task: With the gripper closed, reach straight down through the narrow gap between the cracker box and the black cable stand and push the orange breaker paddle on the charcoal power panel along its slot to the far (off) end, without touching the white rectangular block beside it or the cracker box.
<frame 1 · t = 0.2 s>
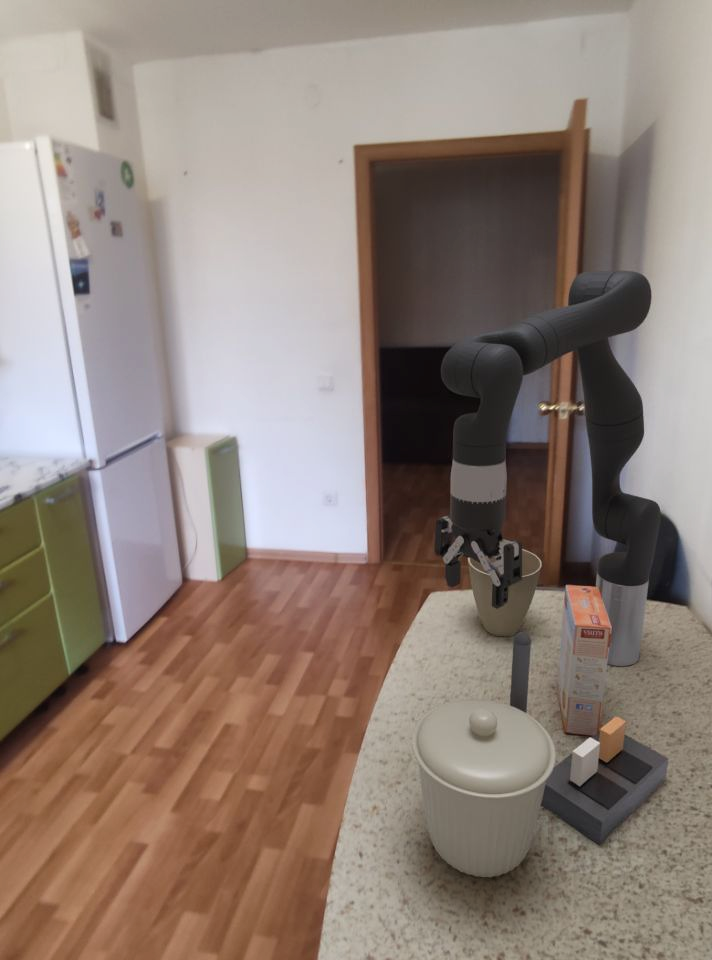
hand: (475, 595, 95), 29 cm above the table, tool pointing down, fingers open, 8 cm apart
canister: (478, 843, 90), on the table
plant pot: (501, 628, 141), on the table
breaker paddle: (611, 739, 98), point 7 cm above the table, slide at 0.0 cm
cracker box: (577, 710, 115), on the table
white rectangular block: (585, 761, 94), point 7 cm above the table, slide at 0.0 cm
cable stand: (513, 779, 100), on the table
power panel: (602, 790, 97), on the table
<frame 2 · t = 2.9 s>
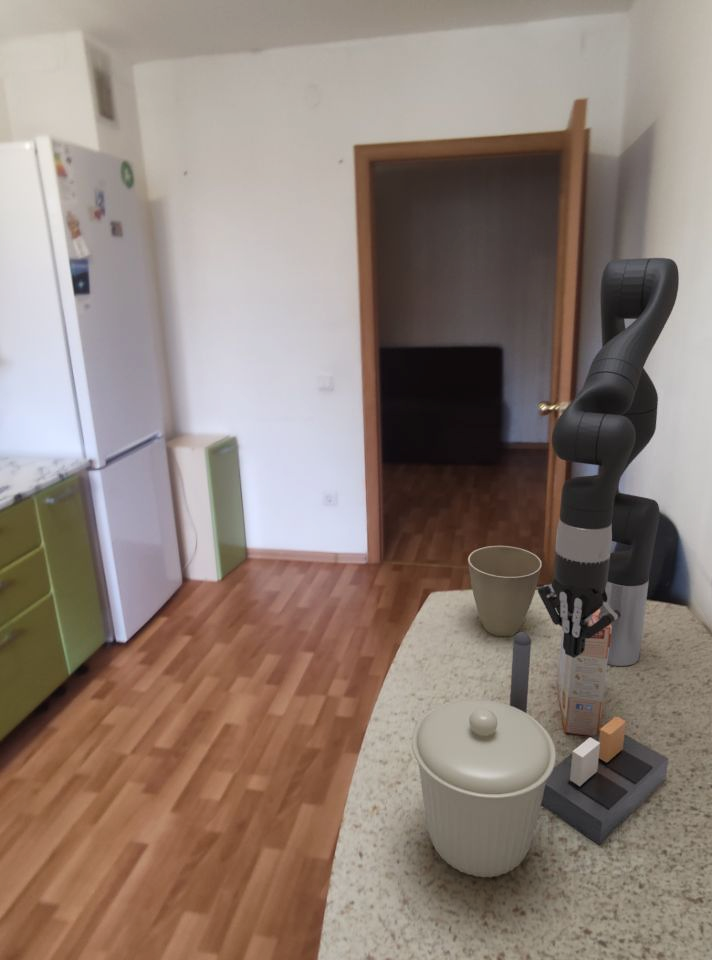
hand: (572, 654, 100), 18 cm above the table, tool pointing down, fingers closed
nothing on the table moved.
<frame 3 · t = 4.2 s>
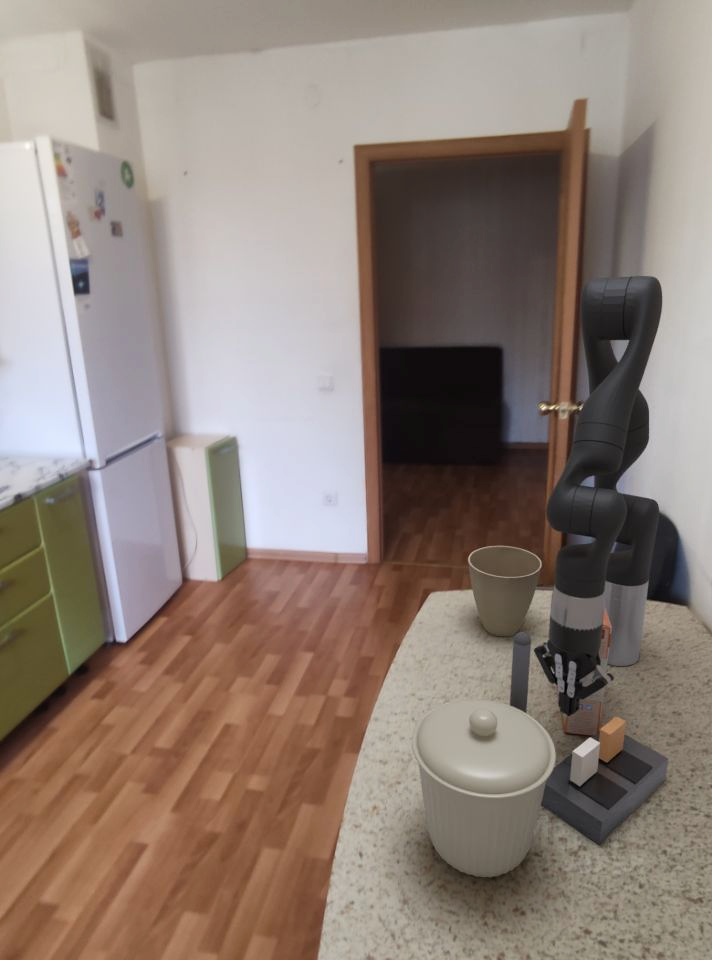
hand: (567, 711, 103), 8 cm above the table, tool pointing down, fingers closed
nothing on the table moved.
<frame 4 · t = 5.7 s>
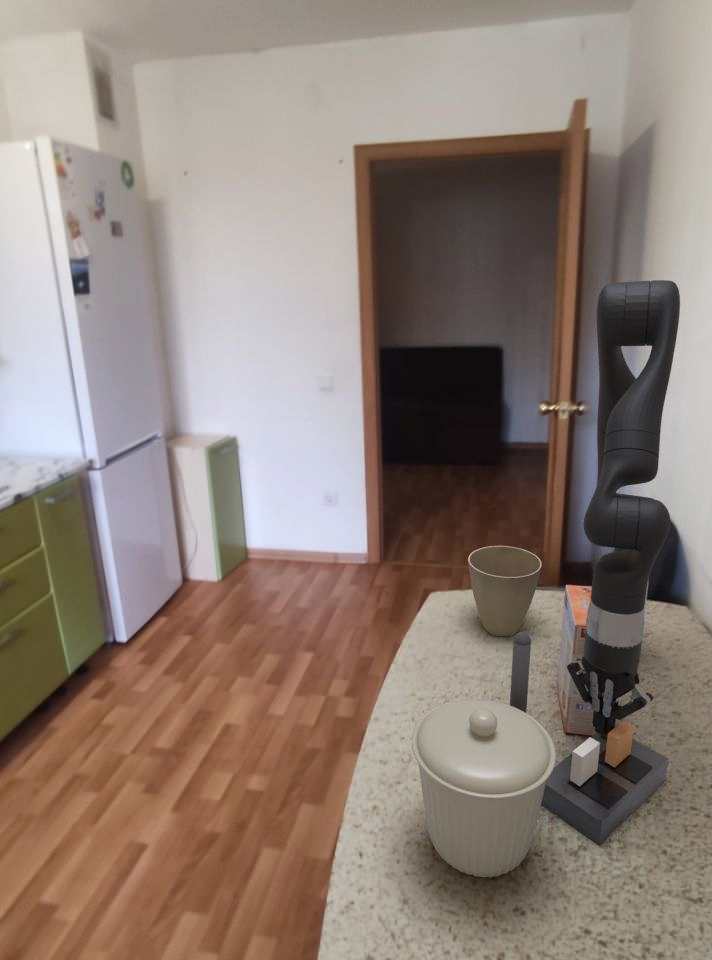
hand: (602, 731, 99), 8 cm above the table, tool pointing down, fingers closed
breaker paddle: (619, 743, 97), point 7 cm above the table, slide at 1.3 cm, touching gripper
everything else where it was.
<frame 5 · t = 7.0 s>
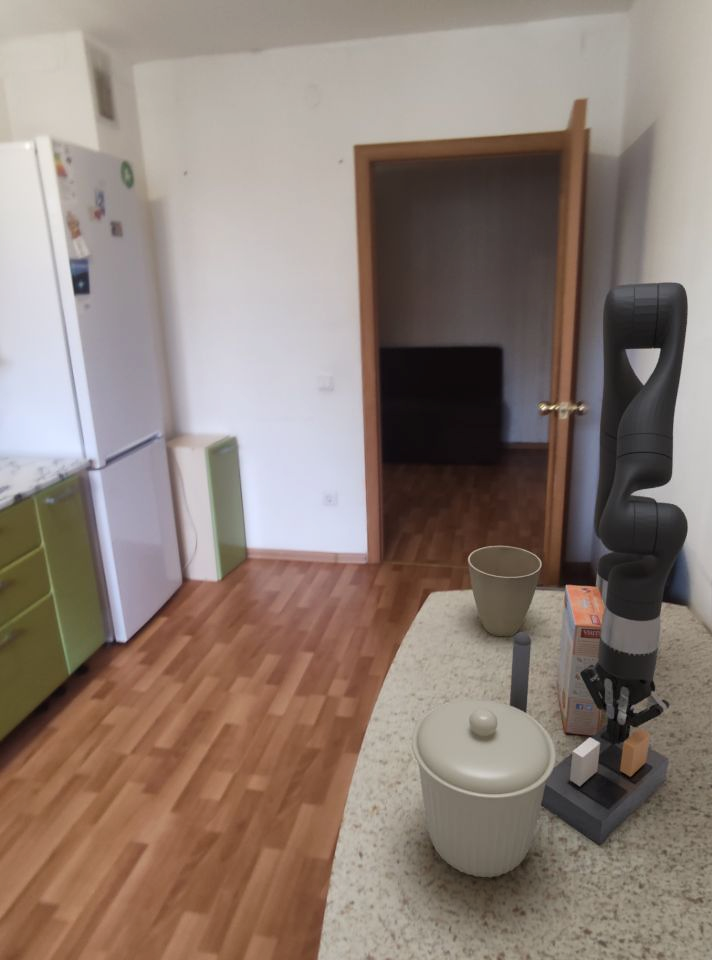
hand: (617, 739, 97), 7 cm above the table, tool pointing down, fingers closed
breaker paddle: (635, 752, 95), point 7 cm above the table, slide at 3.7 cm
everything else where it was.
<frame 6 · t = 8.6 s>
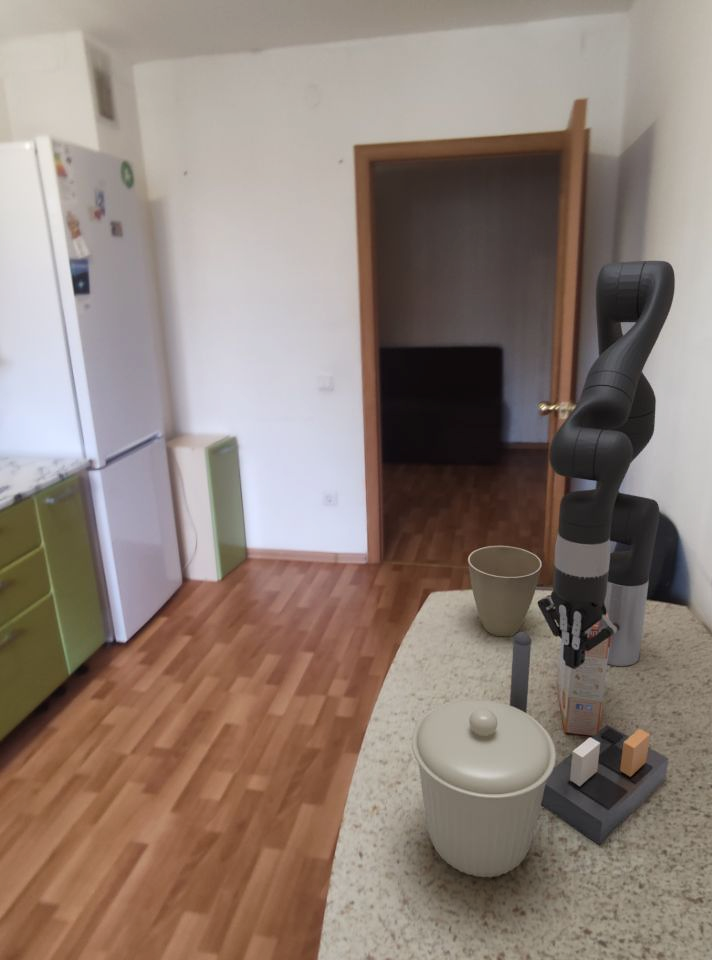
hand: (572, 665, 101), 16 cm above the table, tool pointing down, fingers closed
nothing on the table moved.
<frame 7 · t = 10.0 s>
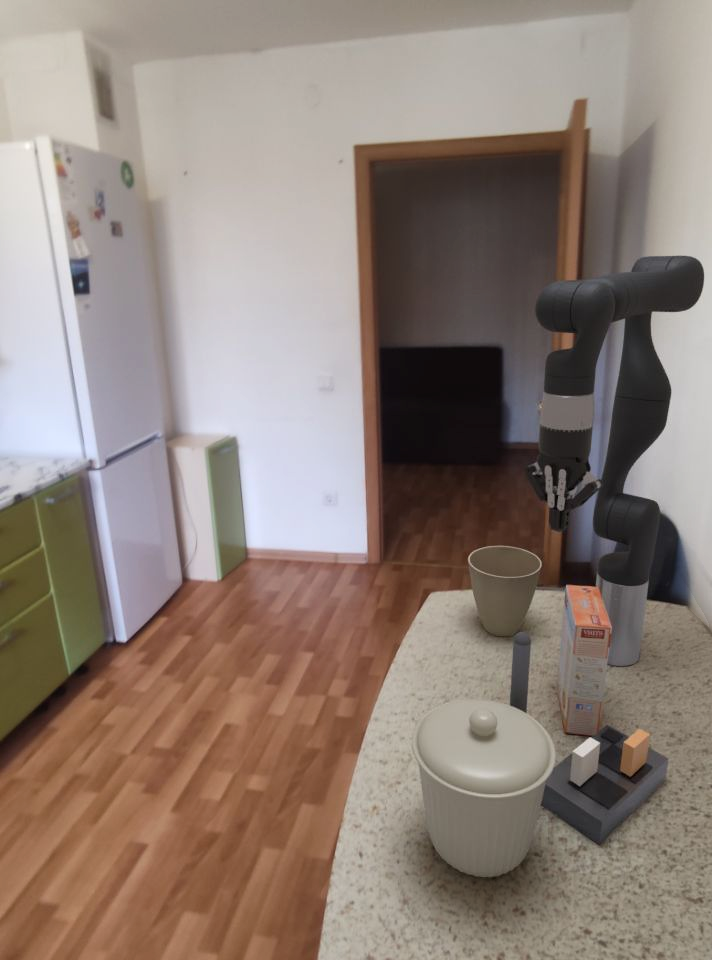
hand: (558, 529, 103), 35 cm above the table, tool pointing down, fingers closed
nothing on the table moved.
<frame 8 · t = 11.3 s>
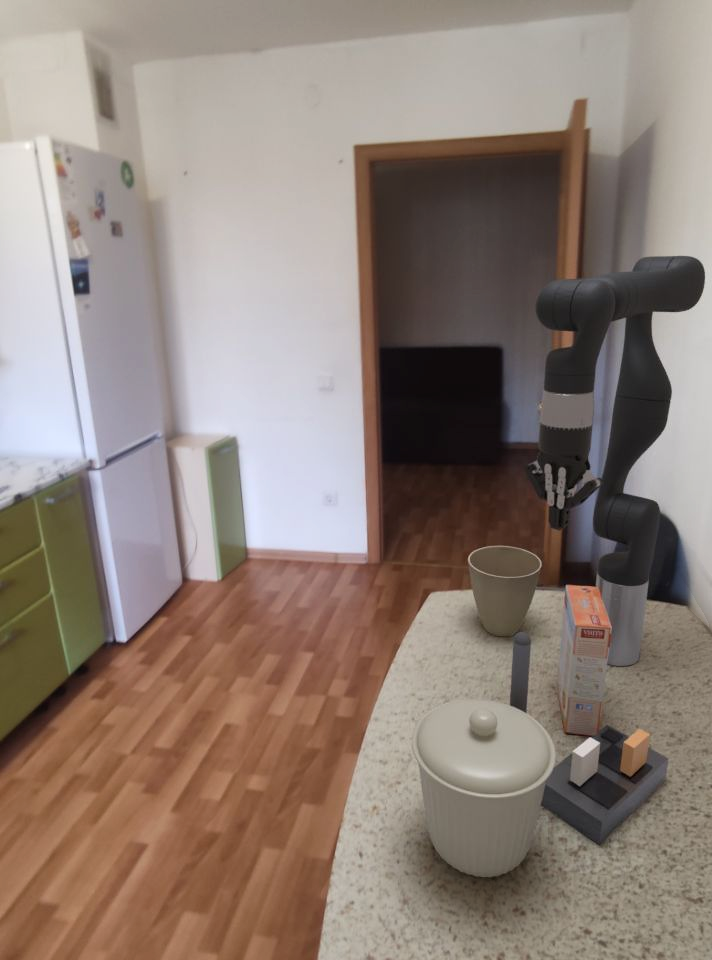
hand: (558, 528, 103), 35 cm above the table, tool pointing down, fingers closed
nothing on the table moved.
at the end: breaker paddle slide at 3.7 cm; white rectangular block slide at 0.0 cm; cracker box moved 0.2 cm from its start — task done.
